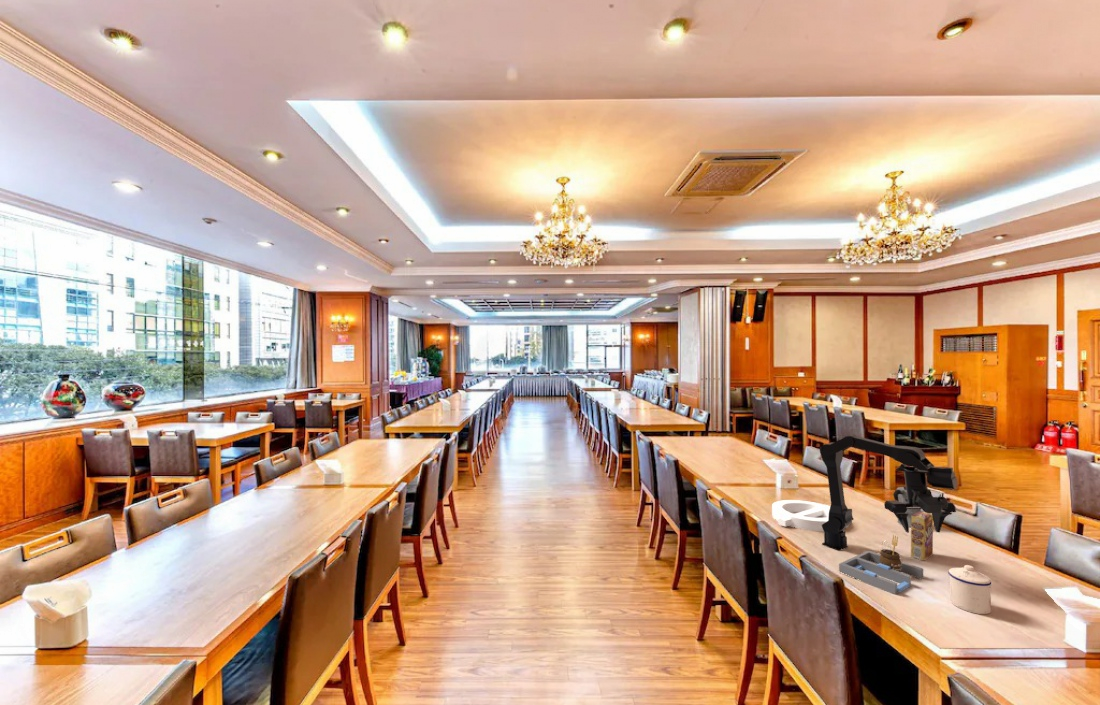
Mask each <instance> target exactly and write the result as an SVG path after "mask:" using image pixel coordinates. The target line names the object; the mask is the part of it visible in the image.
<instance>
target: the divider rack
mask: <svg viewBox="0 0 1100 705" xmlns="http://www.w3.org/2000/svg"><path fill="white" fill-rule="evenodd" d="M880 555H881V553H877V552H874V551H872V550H867V551H864V552H862V553H860V554H857V555H856V556H853V557H850V558H849V559H846V560H845V561H843V562H840V563H838V572H839V571H840V572H842V573H844V574H847V575H849V576H851V577H850V578H852V577H854V578H856V579H855V580H857V579H859V580H861V581H860V582H862V581H863V582H862V583H864V582H865V584H867V583H868V585H870V586H872V587H875V588H877V589H880V590H883V591H886V592H888V593H890V594H893V595H897V594H899V592H900V593H902V592H903V591H904V589H905V590H906V589H908V588H909V587H910V586H911V585H912V583H911V582H912V581H911V579H912V578H911V577H915V578H917V579H920V580H922V579H923V578H924V568H922V567H920V566H916V565H914V564H911V563H908V562H904V561H902V560H901V565H902V572H899V571H896V570H893V569H890V566H887V565H884V564H881V563H879V558H880ZM844 574H843V575H844ZM908 574H909V575H908ZM911 575H912V576H911ZM849 576H848V577H849ZM854 578H853V579H854ZM859 580H858V581H859ZM892 580H893V581H892Z"/></svg>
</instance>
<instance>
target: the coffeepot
mask: <svg viewBox="0 0 1100 705" xmlns="http://www.w3.org/2000/svg"><path fill="white" fill-rule="evenodd" d="M893 498H894V500H897V501H899V502H902V503H908V502H906V501H905V499H907V491H906V490H904V486H898V487H897V488H896V489H895V491H894V492H893ZM919 511H921V512H922V509H907V511H906V512H905V513H907V514H908V516H907V521H908V527H909V529H910V528H911V516H912V515H914V514H916V513H918V512H919ZM897 523H898V524H899V525H901V523H900V521H899V520H898V519H897Z"/></svg>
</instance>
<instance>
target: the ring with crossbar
mask: <svg viewBox="0 0 1100 705" xmlns="http://www.w3.org/2000/svg"><path fill="white" fill-rule="evenodd" d="M830 506H831V505H827V504H824V503H820V502H815V501H814V502H813V501H807V500H798V499H783V500H778V501H775V502H773V503H772V505H771V516H772V518H773V519H774V520H775V519H776V520H775V521H777V525H779V526H783V527H785V528H786V527H790V528H794V527H795V529H799V530H802V529H803V530H804V531H810V532H817V533H824V530H823V528H822V524H824V523H826V522H827V521H828V517H829V510H830Z"/></svg>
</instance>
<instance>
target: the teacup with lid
mask: <svg viewBox="0 0 1100 705" xmlns="http://www.w3.org/2000/svg"><path fill="white" fill-rule="evenodd" d="M947 573H948V578H949V601H950V602H951V604H953V605H954V606H956V607H957V608H958V609H960V610H963V611H966V612H969V613H971V614H972V613H973V614H978V615H989V614H990V613H991V612H992V602H991V600H992V596H991V585H992V581H991V579H990V578H989V576H987V575H986V574H983V573H981V572H979V571H977V570H975V568H974V567H973V566H972V565H969V564H966V565H965V564H964V566H963V567H952V568H951V567H950V569H948V572H947Z"/></svg>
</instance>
